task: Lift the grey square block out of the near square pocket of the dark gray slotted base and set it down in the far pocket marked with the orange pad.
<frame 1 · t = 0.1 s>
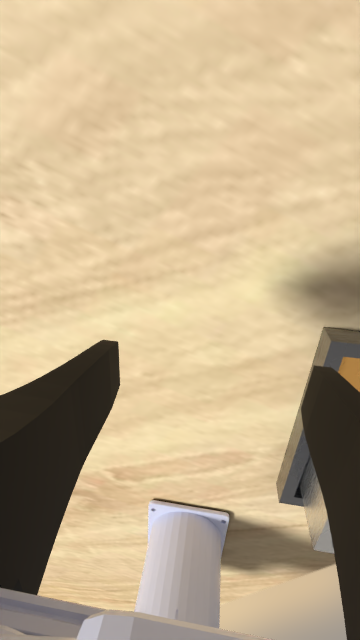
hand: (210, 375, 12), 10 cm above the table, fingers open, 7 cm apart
grey square block: (330, 473, 26), point 1 cm above the table, touching dark gray slotted base
dark gray slotted base: (343, 423, 25), on the table
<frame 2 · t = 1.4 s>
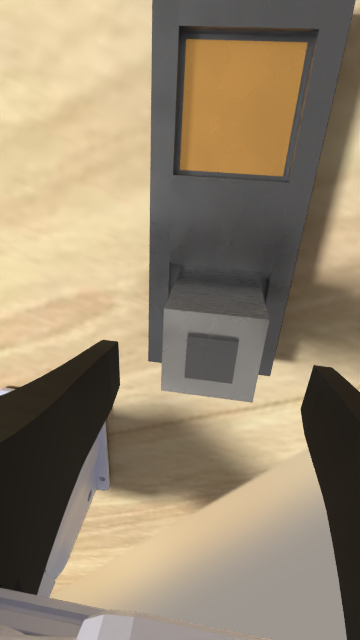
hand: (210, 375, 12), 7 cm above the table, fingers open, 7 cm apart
grey square block: (214, 307, 17), point 1 cm above the table, touching dark gray slotted base
dark gray slotted base: (224, 219, 16), on the table
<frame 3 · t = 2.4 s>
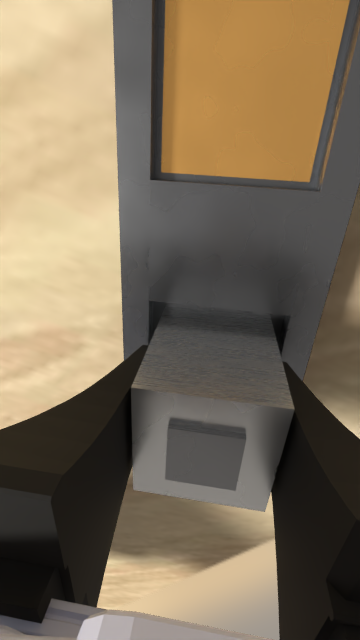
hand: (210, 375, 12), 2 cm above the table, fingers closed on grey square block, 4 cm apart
grey square block: (212, 354, 13), point 1 cm above the table, touching gripper, dark gray slotted base
dark gray slotted base: (225, 239, 12), on the table
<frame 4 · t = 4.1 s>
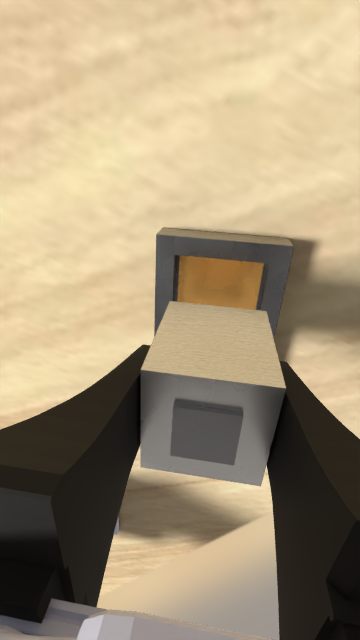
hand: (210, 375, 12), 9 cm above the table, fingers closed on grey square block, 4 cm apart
grey square block: (212, 347, 14), point 6 cm above the table, touching gripper
dark gray slotted base: (210, 352, 22), on the table
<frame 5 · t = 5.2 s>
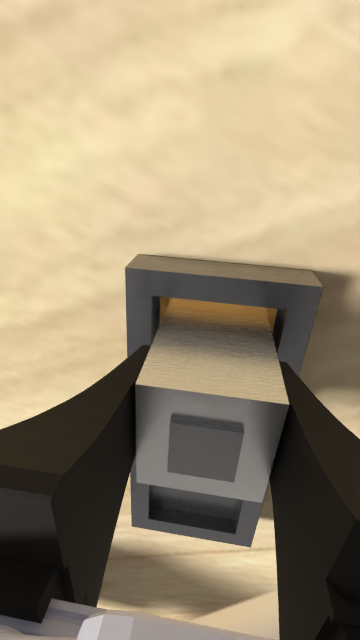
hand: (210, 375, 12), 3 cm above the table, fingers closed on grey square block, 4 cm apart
grey square block: (211, 354, 14), point 1 cm above the table, touching gripper, dark gray slotted base
dark gray slotted base: (204, 411, 17), on the table
when the fingers open (3 cm above the table, at t = 5.9 s): grey square block stays where it is, resting on dark gray slotted base.
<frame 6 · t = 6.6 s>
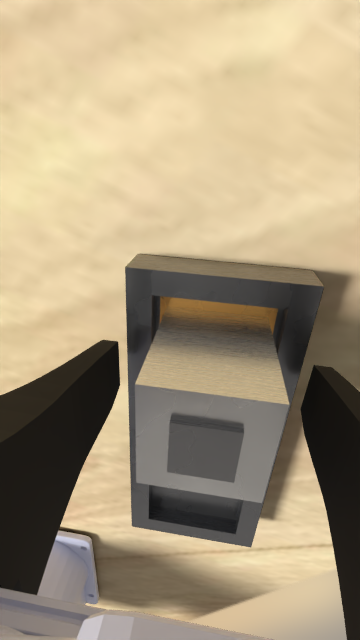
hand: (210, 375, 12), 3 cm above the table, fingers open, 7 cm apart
grey square block: (211, 353, 14), point 1 cm above the table, touching dark gray slotted base
dark gray slotted base: (204, 411, 17), on the table
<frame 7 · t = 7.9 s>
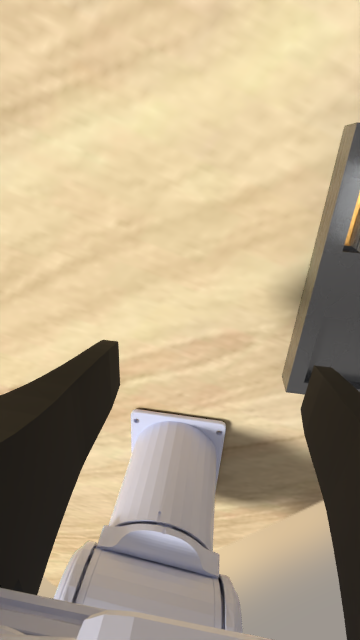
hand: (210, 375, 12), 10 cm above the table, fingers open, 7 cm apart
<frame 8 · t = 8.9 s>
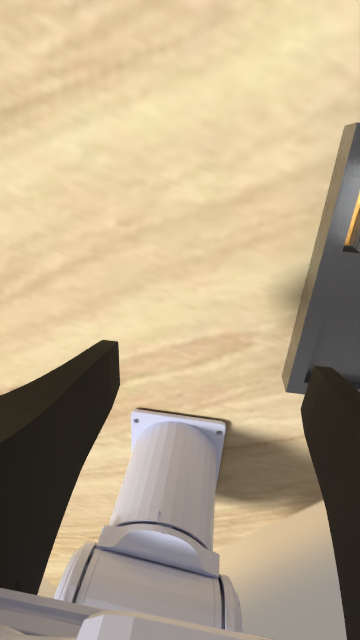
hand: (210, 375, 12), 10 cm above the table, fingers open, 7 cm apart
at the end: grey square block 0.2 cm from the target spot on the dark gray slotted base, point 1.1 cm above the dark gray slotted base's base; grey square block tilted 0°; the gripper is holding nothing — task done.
